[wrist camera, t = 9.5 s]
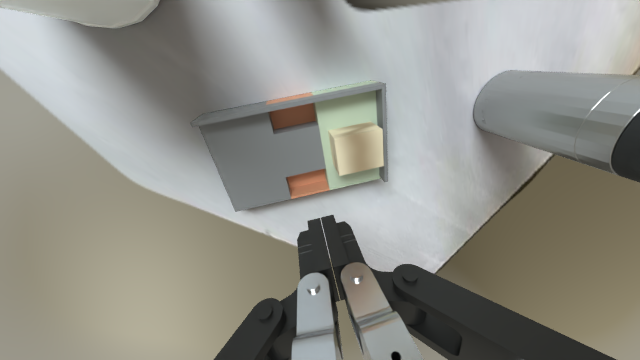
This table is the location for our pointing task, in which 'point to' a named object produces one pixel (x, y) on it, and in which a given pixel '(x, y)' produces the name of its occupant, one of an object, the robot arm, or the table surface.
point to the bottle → (87, 10)
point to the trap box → (290, 143)
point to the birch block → (356, 147)
